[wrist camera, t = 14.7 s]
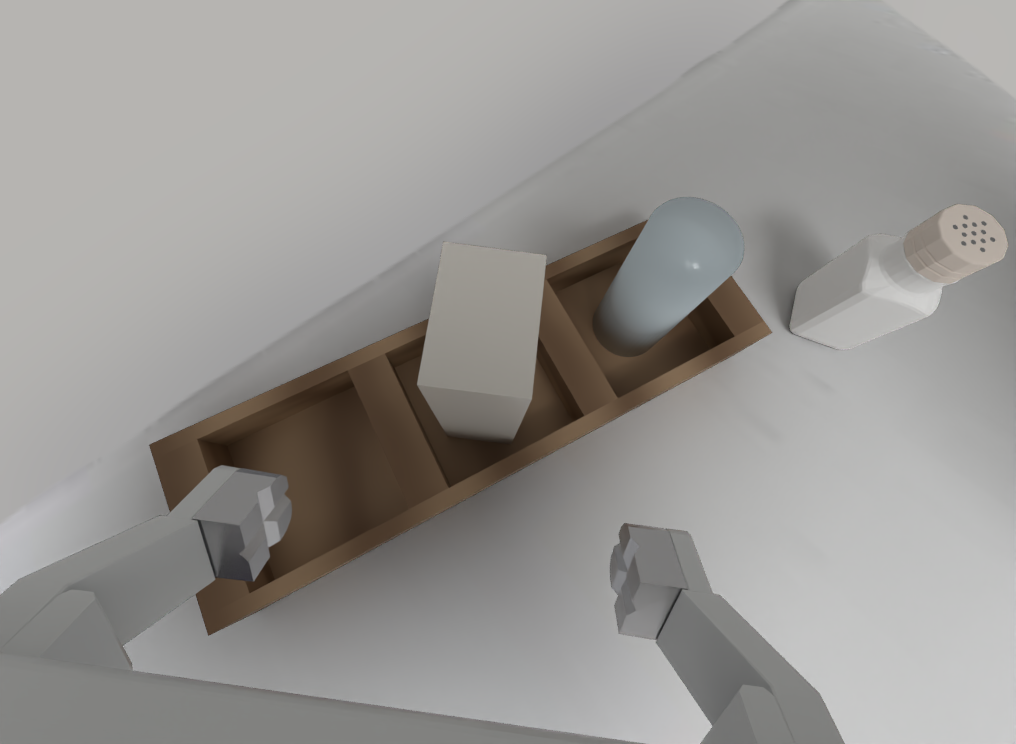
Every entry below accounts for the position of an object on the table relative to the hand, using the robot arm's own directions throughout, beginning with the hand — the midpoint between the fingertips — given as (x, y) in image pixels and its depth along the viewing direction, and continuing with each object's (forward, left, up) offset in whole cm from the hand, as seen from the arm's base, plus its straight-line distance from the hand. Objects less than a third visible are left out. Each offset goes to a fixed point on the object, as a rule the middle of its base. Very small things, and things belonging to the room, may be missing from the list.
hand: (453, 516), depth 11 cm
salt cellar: (-13, -5, -13) cm, 19 cm away
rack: (-3, -5, -14) cm, 15 cm away
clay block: (-3, -5, -13) cm, 14 cm away
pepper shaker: (-25, 0, -14) cm, 29 cm away
